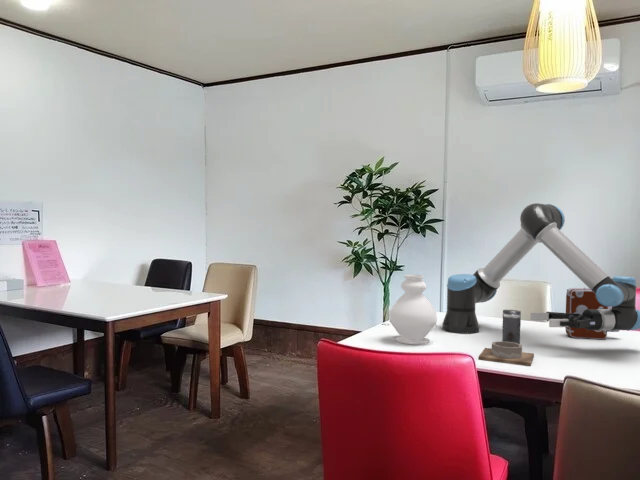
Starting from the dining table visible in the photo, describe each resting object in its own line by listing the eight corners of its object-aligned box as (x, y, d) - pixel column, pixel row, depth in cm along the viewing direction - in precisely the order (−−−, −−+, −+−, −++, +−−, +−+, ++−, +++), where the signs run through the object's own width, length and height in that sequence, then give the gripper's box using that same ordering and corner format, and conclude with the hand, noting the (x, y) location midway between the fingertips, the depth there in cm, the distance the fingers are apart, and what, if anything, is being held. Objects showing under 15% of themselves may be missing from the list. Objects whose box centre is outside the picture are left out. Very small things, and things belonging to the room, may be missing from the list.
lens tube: (500, 350, 181) (501, 311, 181) (502, 347, 186) (503, 309, 186) (519, 352, 178) (520, 312, 178) (520, 349, 184) (521, 310, 183)
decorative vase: (380, 337, 200) (382, 273, 199) (419, 334, 206) (421, 273, 205) (404, 347, 183) (405, 278, 182) (445, 344, 189) (447, 277, 189)
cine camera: (623, 341, 200) (624, 290, 199) (569, 338, 204) (571, 288, 203) (614, 336, 209) (616, 288, 208) (563, 334, 213) (565, 286, 212)
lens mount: (478, 359, 168) (478, 345, 168) (485, 350, 181) (485, 337, 180) (530, 366, 161) (531, 351, 161) (533, 356, 173) (534, 343, 173)
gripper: (619, 337, 171) (558, 337, 170) (577, 323, 196) (523, 323, 195) (619, 315, 171) (558, 314, 170) (577, 304, 196) (524, 304, 195)
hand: (539, 319), depth 182 cm, fingers open, 13 cm apart
